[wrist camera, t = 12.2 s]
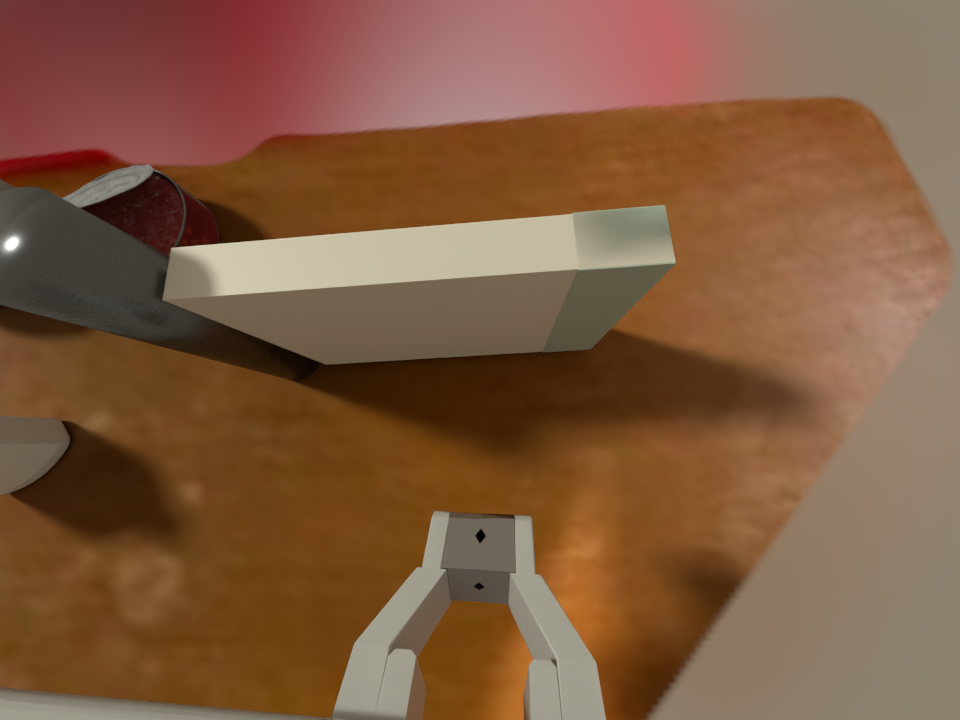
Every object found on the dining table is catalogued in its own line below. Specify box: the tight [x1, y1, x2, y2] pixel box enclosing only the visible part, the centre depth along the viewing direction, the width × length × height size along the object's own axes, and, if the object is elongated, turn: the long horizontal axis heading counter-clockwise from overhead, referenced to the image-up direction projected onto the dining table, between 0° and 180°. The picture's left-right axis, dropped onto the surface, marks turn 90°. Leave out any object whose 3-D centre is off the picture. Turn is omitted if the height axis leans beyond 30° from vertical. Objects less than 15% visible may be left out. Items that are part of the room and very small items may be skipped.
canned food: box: [62, 165, 219, 256], centre depth 23 cm, size 11×10×10 cm
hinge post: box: [0, 187, 320, 380], centre depth 17 cm, size 4×4×14 cm
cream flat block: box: [162, 205, 676, 365], centre depth 17 cm, size 17×2×11 cm, turn 93°
